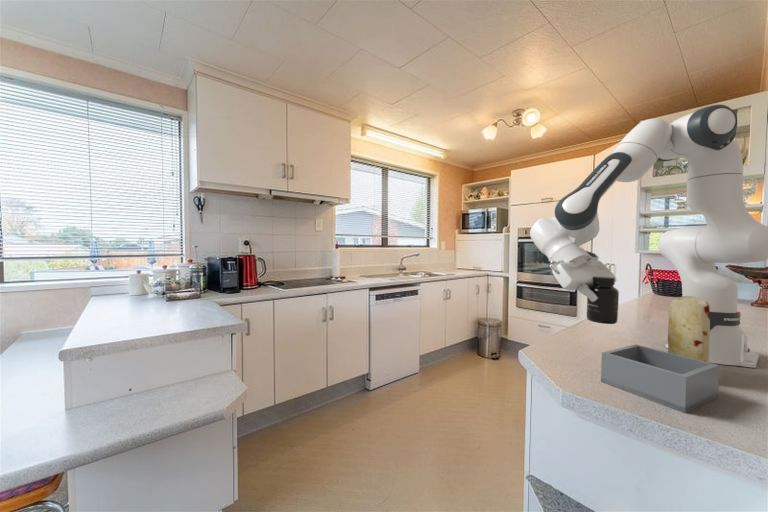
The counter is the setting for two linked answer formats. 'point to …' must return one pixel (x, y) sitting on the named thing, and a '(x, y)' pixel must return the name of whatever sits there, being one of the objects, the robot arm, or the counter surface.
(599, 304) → the supplement bottle
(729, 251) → the robot arm
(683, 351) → the food model
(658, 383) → the bin
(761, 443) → the counter surface
